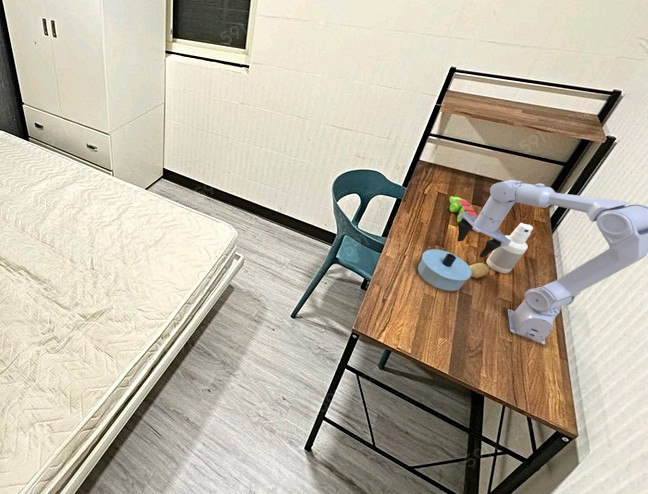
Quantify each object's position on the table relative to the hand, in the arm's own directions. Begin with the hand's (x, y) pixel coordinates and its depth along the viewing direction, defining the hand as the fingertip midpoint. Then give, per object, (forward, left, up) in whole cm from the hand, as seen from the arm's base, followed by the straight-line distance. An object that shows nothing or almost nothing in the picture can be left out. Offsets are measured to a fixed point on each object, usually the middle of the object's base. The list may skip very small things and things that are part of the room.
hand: (471, 248), depth 131 cm
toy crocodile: (+35, -2, -11) cm, 37 cm away
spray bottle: (+10, -12, -11) cm, 19 cm away
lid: (-7, +5, -5) cm, 10 cm away
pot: (-7, +5, -10) cm, 13 cm away
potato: (+1, -5, -10) cm, 12 cm away
